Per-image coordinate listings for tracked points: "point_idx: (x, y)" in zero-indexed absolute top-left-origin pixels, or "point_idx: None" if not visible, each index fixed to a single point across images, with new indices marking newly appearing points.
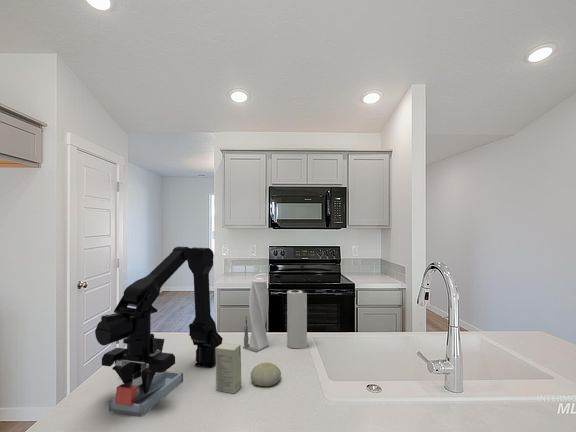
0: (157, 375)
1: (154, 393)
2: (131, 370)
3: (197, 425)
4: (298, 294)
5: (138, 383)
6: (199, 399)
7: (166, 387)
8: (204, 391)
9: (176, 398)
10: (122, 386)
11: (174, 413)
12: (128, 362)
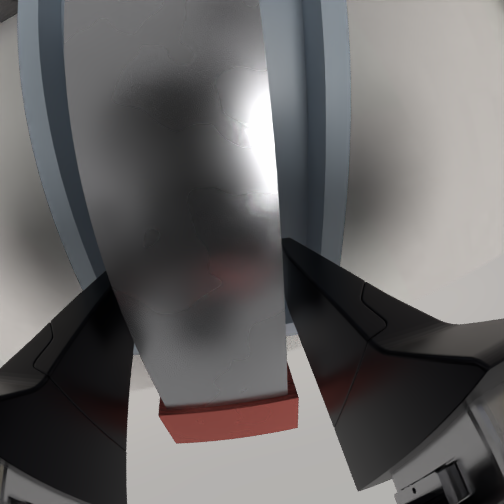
0: (264, 58)
1: (323, 199)
2: (64, 394)
3: (499, 248)
4: None
5: (252, 357)
6: (488, 94)
7: (345, 70)
8: (478, 19)
9: (399, 94)
10: (203, 433)
11: (437, 221)
12: (41, 500)
